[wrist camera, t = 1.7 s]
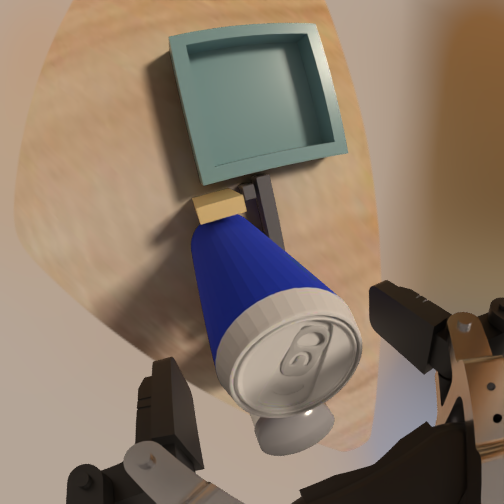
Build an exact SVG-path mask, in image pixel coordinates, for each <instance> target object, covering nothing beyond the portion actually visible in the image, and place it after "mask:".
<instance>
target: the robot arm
mask: <svg viewBox="0 0 504 504" xmlns="http://www.w3.org/2000/svg"><path fill="white" fill-rule="evenodd" d="M369 318H370V323H371V326H372V327H373V329H374V330H375V331H376V332H377V333H378V334H379V335H380V336H381V337H382V338H383V339H385V340H386V341H387V342H388V343H389V344H390V345H392V346H393V347H394V348H395V349H396V350H397V351H398V352H399V353H400V354H402V355H403V356H404V357H405V358H406V359H407V360H408V361H410V362H411V363H412V364H413V365H414V366H415V367H416V368H417V369H418V370H419V371H421V372H422V373H423V374H426V373H427V372H428V371H430V370H431V369H432V368H434V369H435V370H436V373H435V382H436V394H437V408H438V409H437V410H438V412H437V420H436V425H435V426H434V427H431V426H430V425H429V423H428V422H425V423H424V424H422V425H421V426H419V427H418V428H417V429H415V430H414V431H412V432H411V433H409V434H408V435H406V436H405V437H403V438H402V439H400V440H399V441H398V442H397V443H396V444H395V445H394V446H393V447H392V448H391V449H390V450H389V451H388V452H387V453H386V454H385V455H384V456H383V457H382V458H381V459H380V460H379V461H377V462H376V463H375V464H373V465H371V466H368V467H364V468H361V469H357V470H354V471H350V472H346V473H342V474H338V475H334V476H332V477H330V478H328V479H326V480H323V481H321V482H318V483H316V484H313V485H311V486H308V487H306V488H303V489H300V493H301V496H302V497H300V498H299V499H297V500H296V501H294V502H293V503H292V504H504V298H496V299H494V300H493V301H492V302H491V305H490V309H489V312H488V313H486V314H483V315H481V316H478V317H477V316H475V315H474V314H472V313H468V312H457V313H454V314H453V315H452V314H450V313H449V312H447V311H445V310H444V309H442V308H441V307H439V306H437V305H436V304H434V303H432V302H431V301H429V300H428V301H427V299H426V298H424V297H423V296H420V295H419V294H418V293H416V292H414V291H413V290H411V289H407V288H403V287H398V286H396V285H395V284H393V283H391V282H390V281H388V280H385V281H383V282H381V283H378V284H376V285H374V286H372V287H370V289H369ZM137 409H138V410H137V417H136V441H135V445H133V446H132V447H131V448H130V449H129V450H128V451H127V452H126V454H125V456H124V461H123V462H122V463H120V464H117V465H115V466H112V467H110V468H107V469H104V470H102V471H100V470H99V469H98V468H97V467H95V466H94V465H90V464H83V465H80V466H78V467H76V468H75V469H74V470H73V471H72V472H71V473H70V475H69V477H68V482H67V497H66V504H244V503H243V502H241V501H239V500H238V499H236V498H234V497H233V496H231V495H230V494H228V493H226V492H225V491H223V490H222V489H220V488H219V487H217V486H216V485H214V484H212V483H211V482H207V481H205V480H204V479H202V478H201V477H200V476H198V475H197V474H196V473H195V471H196V470H202V469H204V465H203V459H202V453H201V448H200V442H199V437H198V430H197V424H196V418H195V411H194V404H193V398H192V394H191V391H190V388H189V386H188V384H187V382H186V380H185V378H184V377H183V375H182V373H181V371H180V369H179V367H178V365H177V363H176V361H175V359H174V358H173V357H169V358H165V359H162V360H158V361H154V362H153V366H152V376H150V377H146V378H144V380H143V381H142V383H141V385H140V387H139V389H138V402H137Z"/></svg>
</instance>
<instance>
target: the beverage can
mask: <svg viewBox="0 0 504 504" xmlns="http://www.w3.org/2000/svg"><path fill="white" fill-rule="evenodd" d="M191 252H192V258H193V263H194V269H195V274H196V280H197V285H198V290H199V295H200V300H201V305H202V310H203V315H204V320H205V325H206V329H207V334H208V339H209V343H210V347H211V352H212V356H213V360H214V365H215V369H216V373H217V377H218V379H219V381H220V383H221V385H222V386H223V388H224V389H225V390H226V391H227V392H228V394H229V395H230V396H231V397H232V398H233V400H234V401H235V402H236V403H237V404H238V406H239V407H241V408H242V409H243V410H245V411H246V412H249V413H251V414H253V415H256V416H260V417H265V418H284V417H290V416H295V415H298V414H302V413H305V412H307V411H309V410H312V409H314V408H316V407H318V406H320V405H321V404H323V403H325V402H326V401H328V400H329V399H331V398H332V397H333V396H334V395H335V394H337V393H338V392H339V391H340V390H341V389H342V388H343V387H344V386H345V385H346V383H347V382H348V381H349V380H350V378H351V377H352V375H353V374H354V372H355V370H356V368H357V366H358V364H359V361H360V358H361V354H362V338H361V334H360V331H359V329H358V327H357V324H356V322H355V320H354V317H353V315H352V313H351V311H350V309H349V307H348V306H347V304H346V303H345V302H344V301H343V300H342V299H341V298H340V297H339V296H337V295H336V294H335V293H334V292H333V291H332V290H330V289H329V288H328V287H327V286H326V285H325V284H323V283H322V282H321V281H320V280H319V279H318V278H316V277H315V276H314V275H313V274H312V273H310V272H309V271H308V270H307V269H306V268H304V267H303V266H302V265H301V264H300V263H299V262H297V261H296V260H295V259H294V258H293V257H291V256H290V255H289V254H288V253H287V252H285V251H284V250H283V249H282V248H281V247H279V246H278V245H277V244H276V243H275V242H273V241H272V240H271V239H270V238H268V237H267V236H266V235H265V234H264V233H262V232H261V231H260V230H259V229H258V228H256V227H255V226H254V225H253V224H251V223H250V222H249V221H248V220H246V219H245V218H244V217H242V216H240V215H238V214H236V215H232V216H229V217H225V218H222V219H219V220H215V221H212V222H208V223H205V224H202V225H201V224H199V226H198V227H197V228H196V230H195V232H194V234H193V237H192V241H191Z"/></svg>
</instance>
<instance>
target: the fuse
mask: <svg viewBox="0 0 504 504" xmlns="http://www.w3.org/2000/svg"><path fill="white" fill-rule="evenodd" d="M250 416H251V418H252V421H253V424H254V426H255V434H256V437H257V440H258V442H259V445H260V448H261V449H262V451H263V452H265V453H267V454H269V455H274V456H284V455H289V454H294V453H297V452H300V451H303V450H305V449H307V448H309V447H311V446H313V445H315V444H316V443H318V442H319V441H320V440H322V439H323V438H324V437H325V436H326V435H327V434H328V433H329V432H330V430H331V429H332V427H333V425H334V416H333V414H332V413H331V411H330V409H329V408H328V406H327V405H326V403H323V404H321V405H320V406H318V407H316V408H314V409H312V410H309V411H307V412H305V413H302V414H298V415H295V416H290V417H284V418H265V417H260V416H256V415H253V414H251V413H250Z"/></svg>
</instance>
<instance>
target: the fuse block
mask: <svg viewBox="0 0 504 504" xmlns="http://www.w3.org/2000/svg"><path fill="white" fill-rule="evenodd" d="M251 179H252V183H253V184H251V183H245V184H242V185H238V186H239V190H240V193H237V192H235V191H233V190H231V189H229V188H226V189H223V190H219V191H216V192H212V193H208V194H205V195H201V196H198V197H195V198H192V200H193V204H194V207H195V211H196V214H197V216H198V219H199V222H200V224H201V225H202V224H205V223H208V222H212V221H215V220H219V219H222V218H225V217H229V216H232V215H236V214H239V213H243V212H247V210H246V206H245V202H244V200H249V199H253V198H256V201H257V205H258V210H259V214H260V218H261V223H262V227H263V232H264V234H265V235H266V236H267V237H268V238H270V239H271V240H272V241H273V242H275V243H276V244H277V245H278V246H279V247H281V248H282V249H283V250H284V251H285V248H284V242H283V237H282V232H281V227H280V222H279V218H278V213H277V208H276V203H275V198H274V194H273V189H272V184H271V180H270V175H269V174H260V175H256V176H252V177H251Z"/></svg>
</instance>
